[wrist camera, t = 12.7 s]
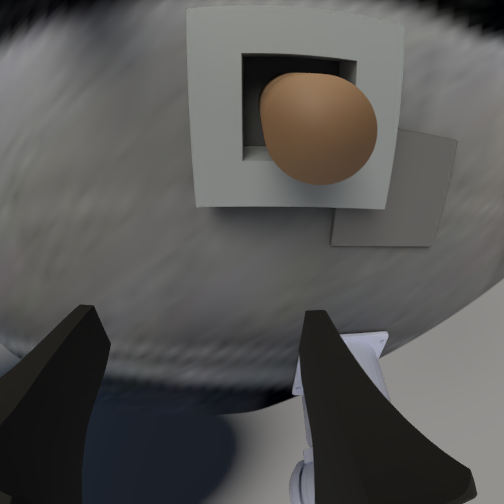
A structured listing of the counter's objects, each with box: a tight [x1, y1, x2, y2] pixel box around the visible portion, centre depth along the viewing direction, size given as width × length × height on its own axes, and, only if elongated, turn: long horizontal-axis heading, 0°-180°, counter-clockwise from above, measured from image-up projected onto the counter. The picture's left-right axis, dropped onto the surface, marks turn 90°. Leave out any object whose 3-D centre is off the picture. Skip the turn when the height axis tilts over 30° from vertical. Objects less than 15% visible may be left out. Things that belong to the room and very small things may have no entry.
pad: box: [330, 129, 458, 246], centre depth 18 cm, size 8×8×1 cm
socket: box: [186, 5, 404, 209], centre depth 14 cm, size 10×10×3 cm
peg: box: [259, 72, 377, 185], centre depth 12 cm, size 4×4×8 cm
